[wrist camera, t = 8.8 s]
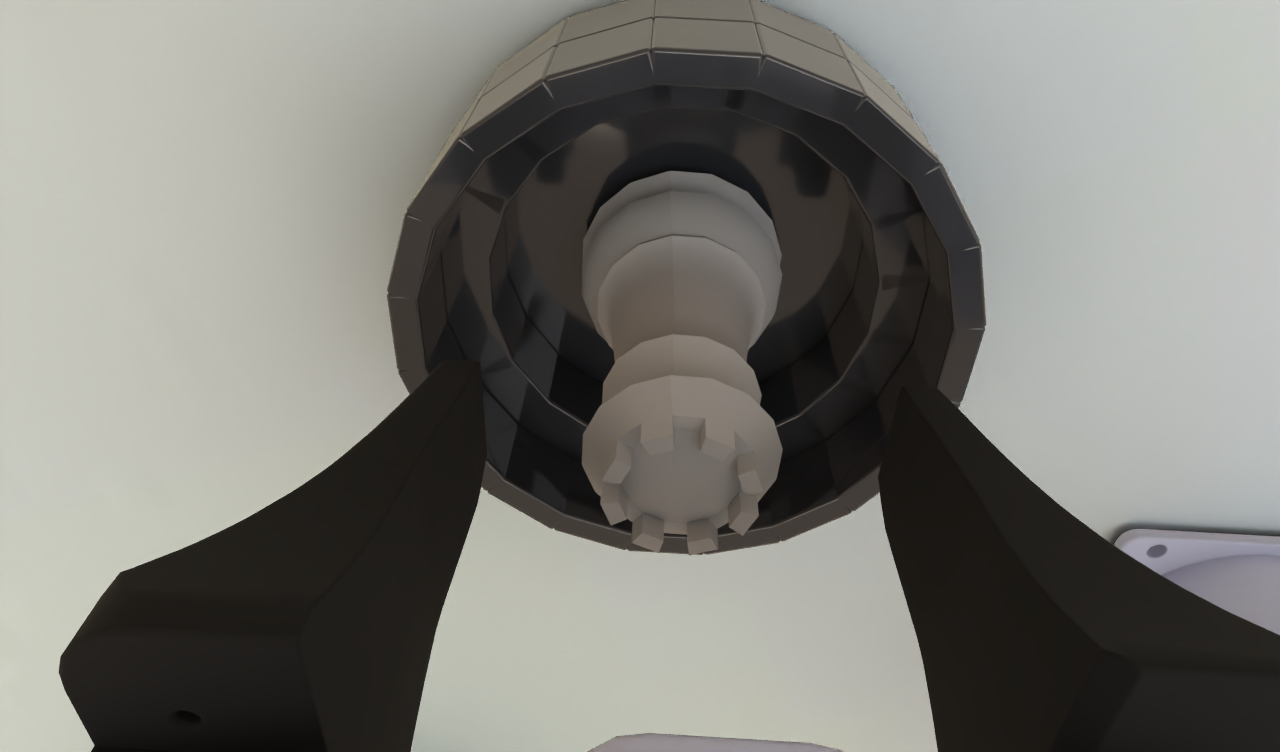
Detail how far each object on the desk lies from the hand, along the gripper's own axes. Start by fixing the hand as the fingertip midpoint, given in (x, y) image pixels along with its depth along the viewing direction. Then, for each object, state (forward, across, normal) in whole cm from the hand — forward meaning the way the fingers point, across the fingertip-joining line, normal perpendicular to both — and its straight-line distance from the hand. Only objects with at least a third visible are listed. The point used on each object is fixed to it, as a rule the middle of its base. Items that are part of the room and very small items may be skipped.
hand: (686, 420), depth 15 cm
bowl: (+7, 0, 0) cm, 7 cm away
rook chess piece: (+6, 0, 0) cm, 6 cm away
